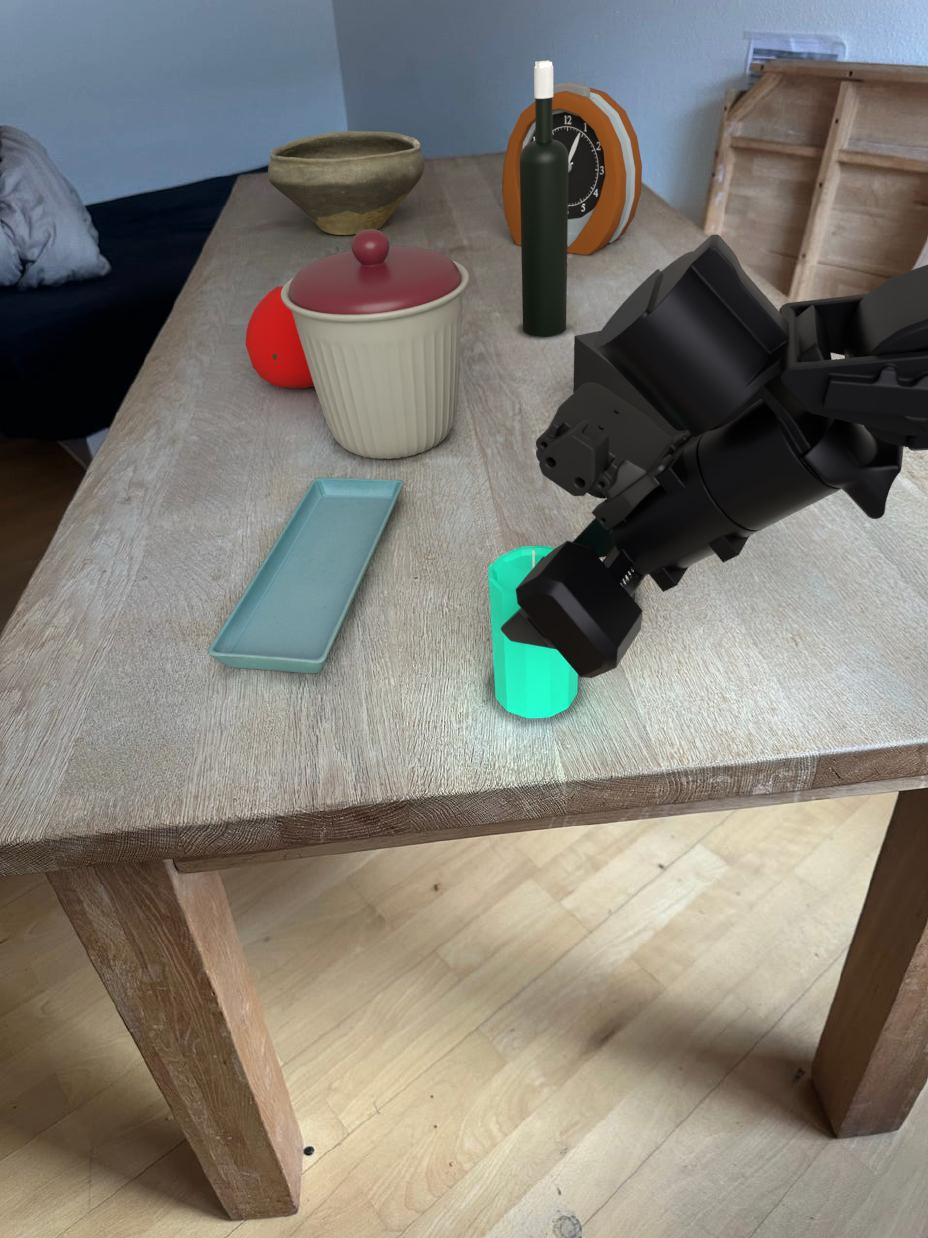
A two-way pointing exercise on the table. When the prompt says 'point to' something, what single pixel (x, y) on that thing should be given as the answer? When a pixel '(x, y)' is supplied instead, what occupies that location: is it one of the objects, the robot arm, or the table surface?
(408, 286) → the canister
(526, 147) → the wine bottle
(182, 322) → the table surface
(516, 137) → the alarm clock
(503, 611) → the candle
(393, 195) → the bowl
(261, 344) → the tomato
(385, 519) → the rectangular tray
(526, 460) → the table surface
